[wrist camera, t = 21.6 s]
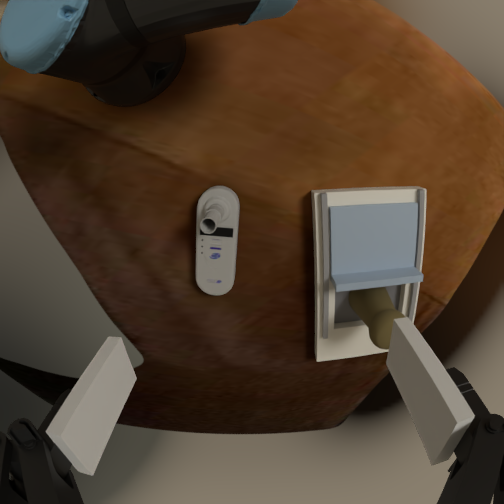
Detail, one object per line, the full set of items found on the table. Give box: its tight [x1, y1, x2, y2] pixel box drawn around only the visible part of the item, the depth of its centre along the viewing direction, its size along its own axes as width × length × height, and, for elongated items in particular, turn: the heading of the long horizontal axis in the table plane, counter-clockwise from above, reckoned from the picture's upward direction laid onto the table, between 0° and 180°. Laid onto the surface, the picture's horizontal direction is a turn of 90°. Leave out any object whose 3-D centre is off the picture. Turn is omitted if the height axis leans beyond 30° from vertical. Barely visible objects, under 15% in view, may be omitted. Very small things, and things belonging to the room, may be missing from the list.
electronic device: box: [196, 186, 240, 295], centre depth 38 cm, size 5×10×15 cm
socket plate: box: [311, 186, 426, 362], centre depth 41 cm, size 26×16×3 cm, turn 6°
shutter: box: [329, 202, 423, 292], centre depth 37 cm, size 10×12×4 cm
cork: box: [348, 287, 405, 350], centre depth 38 cm, size 6×6×11 cm
